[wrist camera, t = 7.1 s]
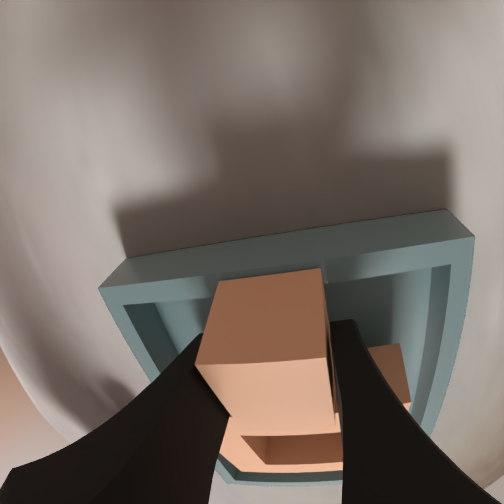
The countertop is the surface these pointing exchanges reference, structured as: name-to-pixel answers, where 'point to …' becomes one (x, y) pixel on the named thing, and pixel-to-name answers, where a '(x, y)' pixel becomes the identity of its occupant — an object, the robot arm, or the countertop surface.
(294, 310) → the collar
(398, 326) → the tray
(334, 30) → the countertop surface
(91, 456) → the robot arm
